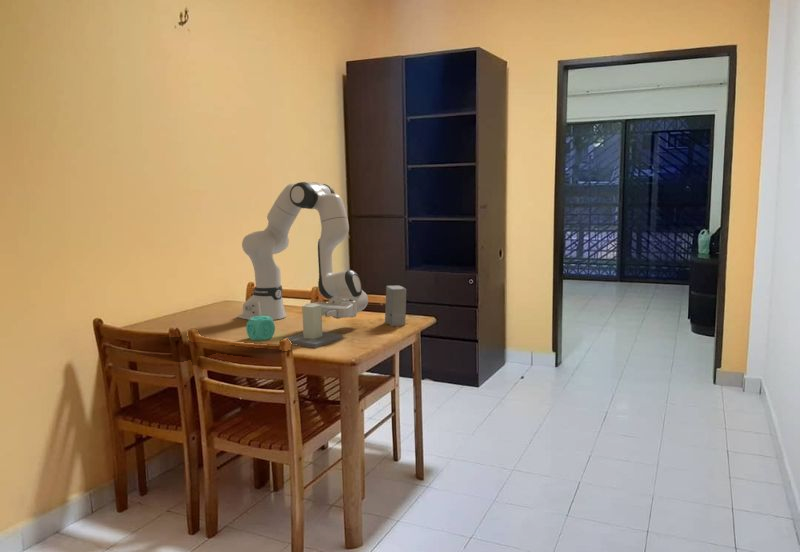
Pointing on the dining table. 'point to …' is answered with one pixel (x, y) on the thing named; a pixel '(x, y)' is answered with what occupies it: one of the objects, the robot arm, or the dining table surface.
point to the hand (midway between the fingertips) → (316, 313)
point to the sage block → (312, 321)
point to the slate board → (316, 342)
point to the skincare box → (395, 305)
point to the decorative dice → (260, 328)
